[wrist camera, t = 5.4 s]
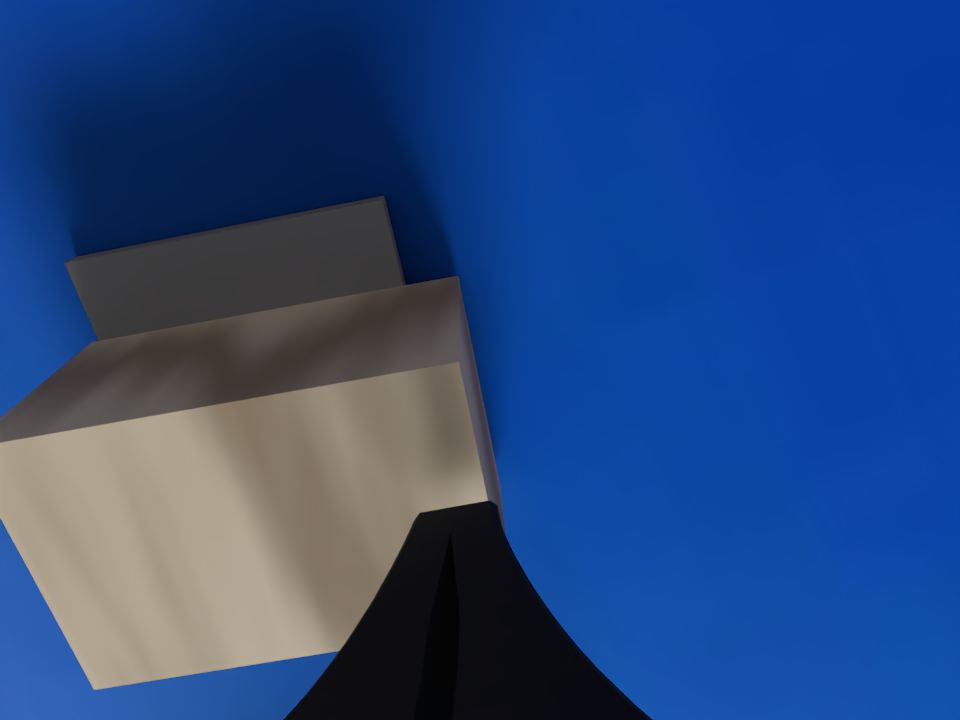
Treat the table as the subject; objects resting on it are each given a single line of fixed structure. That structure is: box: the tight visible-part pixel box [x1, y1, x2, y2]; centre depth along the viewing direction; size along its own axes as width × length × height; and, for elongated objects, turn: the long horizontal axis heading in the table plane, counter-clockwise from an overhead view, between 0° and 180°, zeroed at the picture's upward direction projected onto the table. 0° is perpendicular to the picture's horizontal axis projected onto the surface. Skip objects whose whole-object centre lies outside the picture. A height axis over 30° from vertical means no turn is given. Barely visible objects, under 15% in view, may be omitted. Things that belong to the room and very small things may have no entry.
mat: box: [65, 196, 406, 341], centre depth 19 cm, size 8×10×1 cm
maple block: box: [0, 276, 505, 690], centre depth 16 cm, size 5×6×9 cm
